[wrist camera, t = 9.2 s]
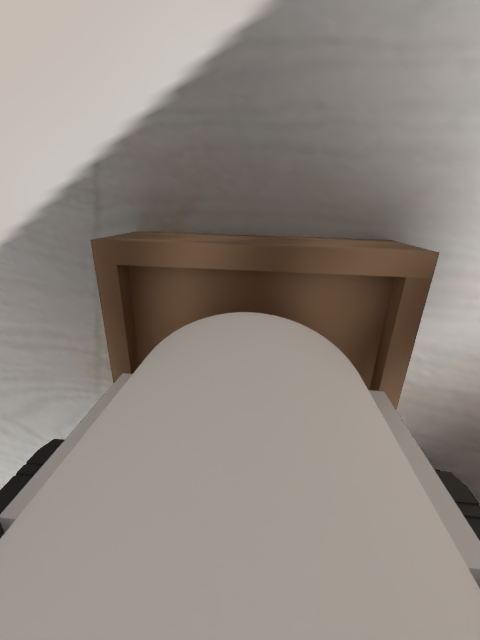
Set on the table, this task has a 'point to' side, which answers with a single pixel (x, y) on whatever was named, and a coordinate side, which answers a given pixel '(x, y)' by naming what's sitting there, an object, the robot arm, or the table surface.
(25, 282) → the table surface
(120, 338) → the wooden tray
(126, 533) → the cup
